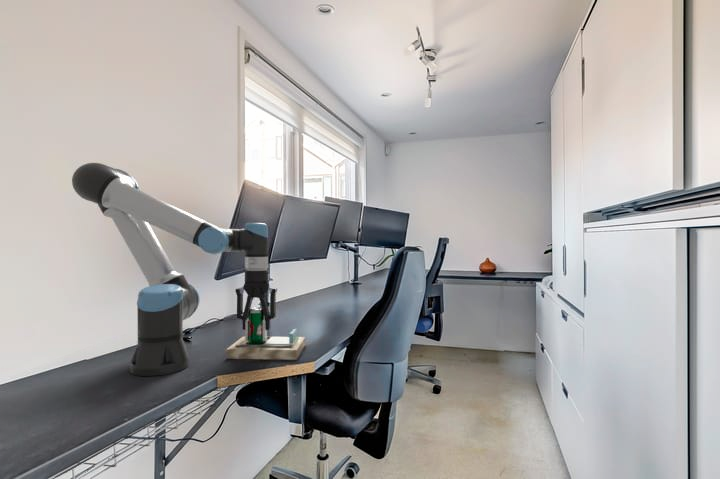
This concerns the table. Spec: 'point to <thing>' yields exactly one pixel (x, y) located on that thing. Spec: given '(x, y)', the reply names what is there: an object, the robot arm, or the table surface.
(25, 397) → the table surface
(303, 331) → the table surface
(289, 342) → the shutter
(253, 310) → the soda can
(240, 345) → the socket board
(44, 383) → the table surface
